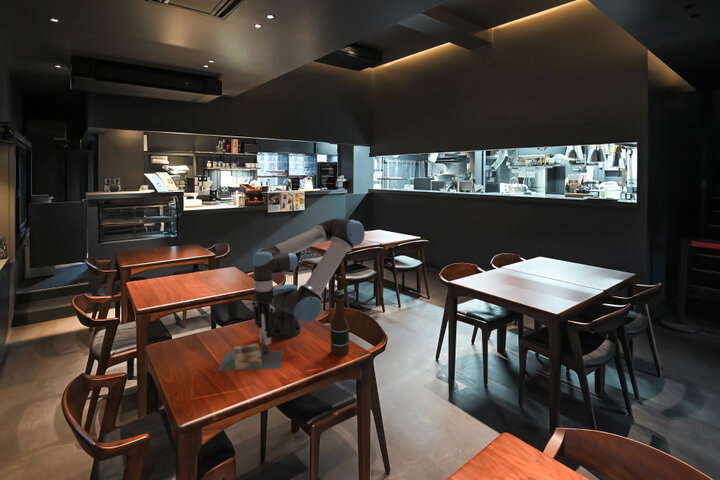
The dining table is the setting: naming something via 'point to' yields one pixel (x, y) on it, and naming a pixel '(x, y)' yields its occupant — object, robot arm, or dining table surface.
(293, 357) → the dining table surface
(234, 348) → the wooden square socket block
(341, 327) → the beer bottle
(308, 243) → the robot arm
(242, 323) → the dining table surface
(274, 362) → the felt mat
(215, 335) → the dining table surface
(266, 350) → the metal peg
